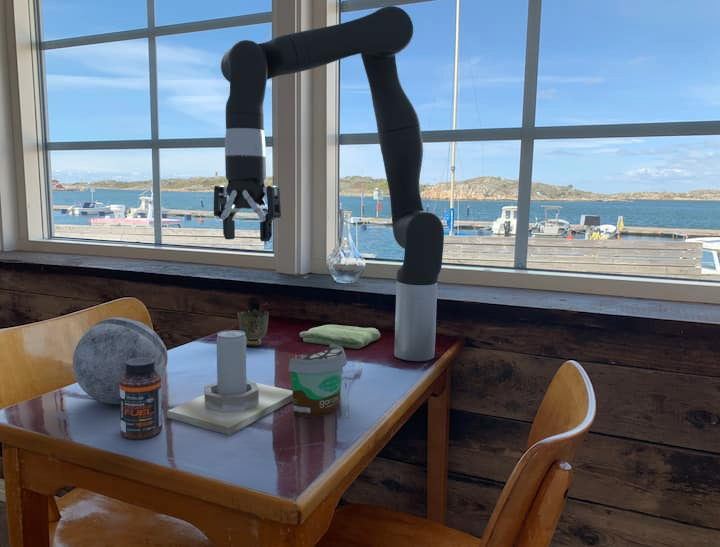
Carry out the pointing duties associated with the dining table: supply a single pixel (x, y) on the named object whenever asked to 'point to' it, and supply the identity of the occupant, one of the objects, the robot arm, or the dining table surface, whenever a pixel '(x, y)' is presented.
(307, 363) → the food container
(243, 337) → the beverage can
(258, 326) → the cup
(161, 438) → the dining table surface
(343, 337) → the washcloth
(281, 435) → the dining table surface
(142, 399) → the supplement bottle
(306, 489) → the dining table surface
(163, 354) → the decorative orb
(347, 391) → the dining table surface
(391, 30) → the robot arm
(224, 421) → the holder board
